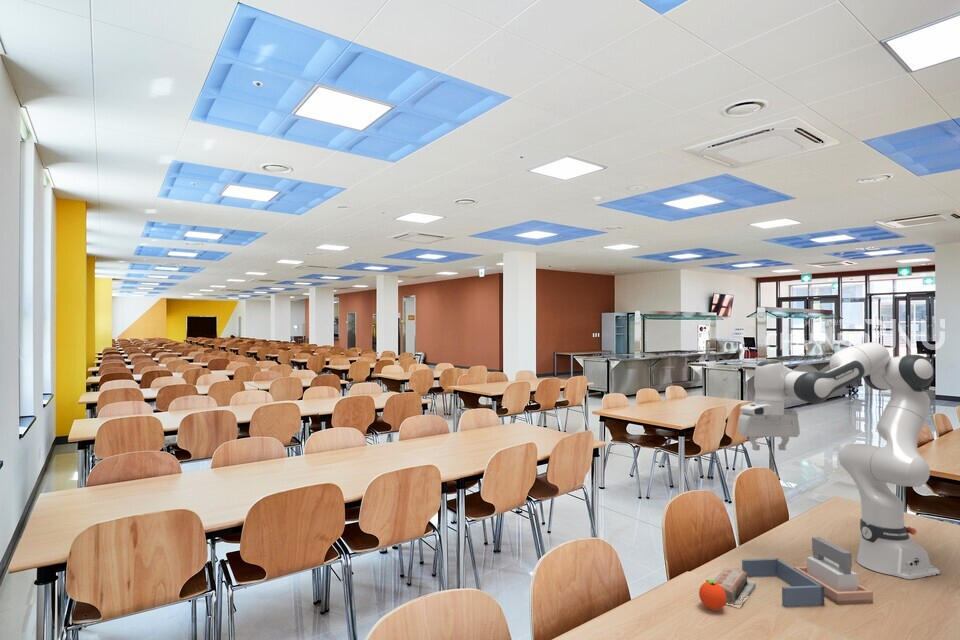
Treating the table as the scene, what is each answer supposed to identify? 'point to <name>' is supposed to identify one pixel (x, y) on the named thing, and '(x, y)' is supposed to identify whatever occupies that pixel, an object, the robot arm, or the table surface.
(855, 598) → the terracotta tray
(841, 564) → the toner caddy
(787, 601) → the slate bay
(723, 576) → the packaged product
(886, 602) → the table surface
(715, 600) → the clementine
